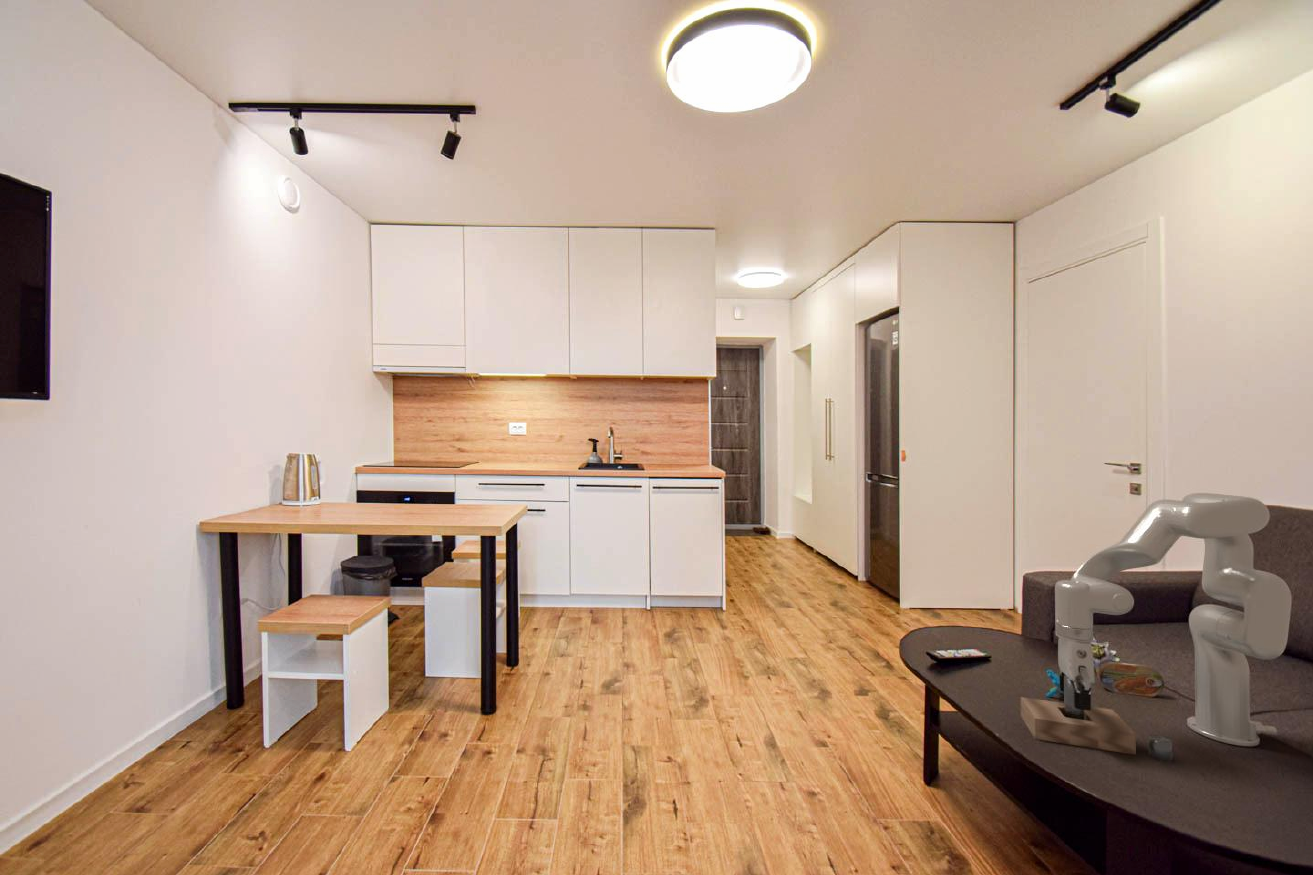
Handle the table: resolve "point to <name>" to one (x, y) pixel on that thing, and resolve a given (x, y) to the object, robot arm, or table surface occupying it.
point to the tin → (1130, 679)
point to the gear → (1056, 681)
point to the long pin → (1071, 700)
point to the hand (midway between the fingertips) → (1074, 700)
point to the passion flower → (1102, 654)
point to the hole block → (1078, 726)
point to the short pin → (1160, 748)
